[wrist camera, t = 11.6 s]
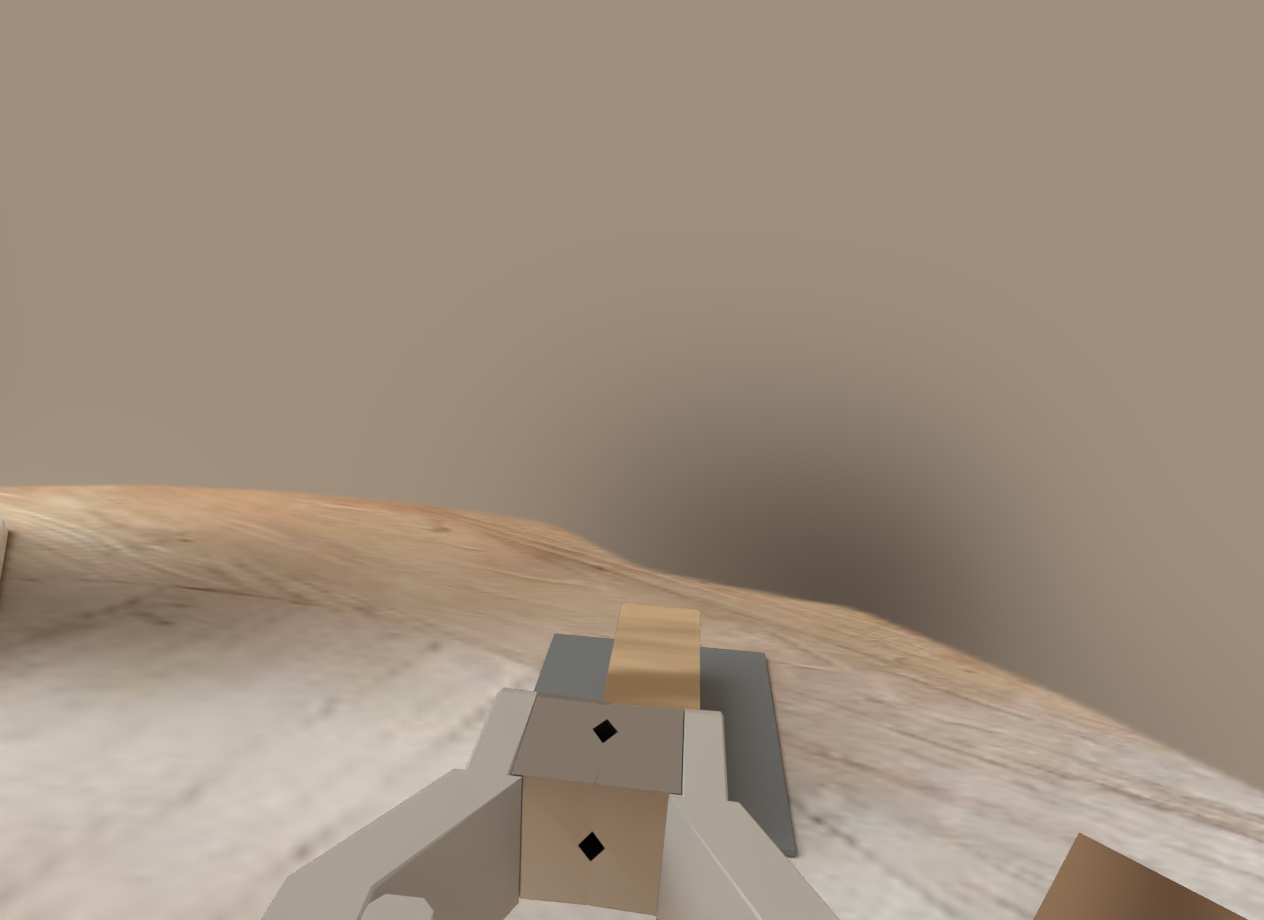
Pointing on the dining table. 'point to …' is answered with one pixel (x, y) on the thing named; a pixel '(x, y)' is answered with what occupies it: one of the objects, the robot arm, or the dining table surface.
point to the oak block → (655, 658)
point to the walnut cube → (1120, 890)
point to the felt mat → (724, 687)
